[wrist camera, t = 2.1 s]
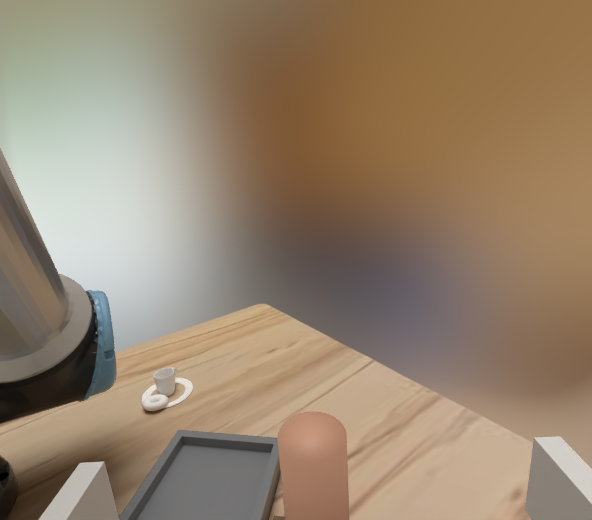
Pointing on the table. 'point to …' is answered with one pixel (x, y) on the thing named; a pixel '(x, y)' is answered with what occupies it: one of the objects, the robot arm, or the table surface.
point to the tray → (209, 479)
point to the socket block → (278, 518)
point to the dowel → (314, 467)
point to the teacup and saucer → (165, 390)
